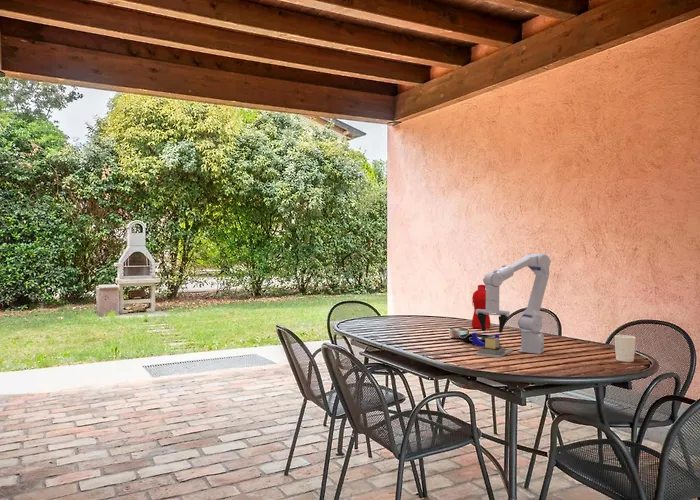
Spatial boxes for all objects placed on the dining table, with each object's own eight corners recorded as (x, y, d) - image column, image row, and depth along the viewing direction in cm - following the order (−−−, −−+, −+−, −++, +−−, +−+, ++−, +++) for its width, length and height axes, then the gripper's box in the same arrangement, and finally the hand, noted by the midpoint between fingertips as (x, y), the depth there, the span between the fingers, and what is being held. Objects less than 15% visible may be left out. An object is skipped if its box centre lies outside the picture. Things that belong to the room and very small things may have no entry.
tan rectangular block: (498, 352, 245) (499, 338, 245) (495, 353, 241) (495, 339, 241) (488, 350, 247) (489, 337, 247) (485, 352, 243) (485, 338, 243)
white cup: (624, 362, 230) (624, 338, 230) (610, 358, 238) (610, 335, 238) (639, 361, 232) (640, 337, 232) (625, 358, 240) (625, 334, 240)
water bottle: (477, 326, 331) (477, 283, 331) (492, 328, 323) (493, 284, 322) (467, 327, 325) (467, 284, 325) (482, 329, 317) (483, 285, 317)
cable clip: (499, 346, 265) (499, 333, 265) (498, 348, 261) (498, 335, 261) (474, 344, 270) (474, 332, 270) (472, 346, 266) (472, 333, 266)
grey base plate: (512, 351, 252) (513, 345, 252) (499, 357, 237) (499, 351, 237) (491, 348, 258) (491, 342, 258) (476, 355, 243) (476, 348, 243)
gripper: (473, 299, 245) (472, 331, 245) (506, 302, 237) (505, 334, 237) (479, 298, 251) (478, 329, 251) (511, 300, 243) (510, 332, 243)
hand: (492, 331), depth 245 cm, fingers open, 7 cm apart
